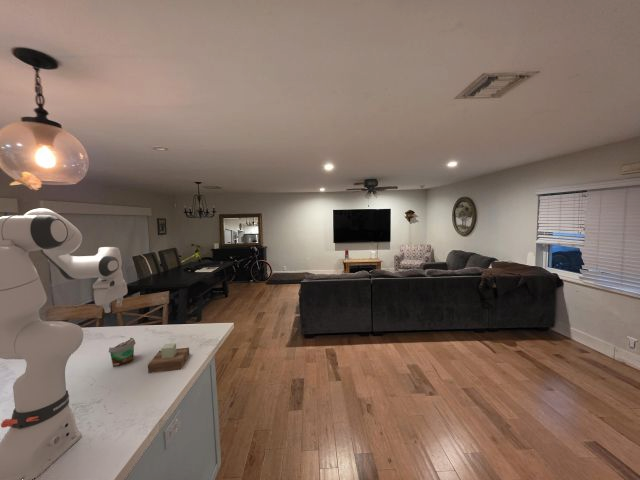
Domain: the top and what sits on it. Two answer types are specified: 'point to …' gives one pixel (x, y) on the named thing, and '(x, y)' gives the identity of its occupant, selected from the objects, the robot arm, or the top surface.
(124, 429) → the top surface
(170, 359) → the walnut base
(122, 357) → the food container
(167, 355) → the sage block
